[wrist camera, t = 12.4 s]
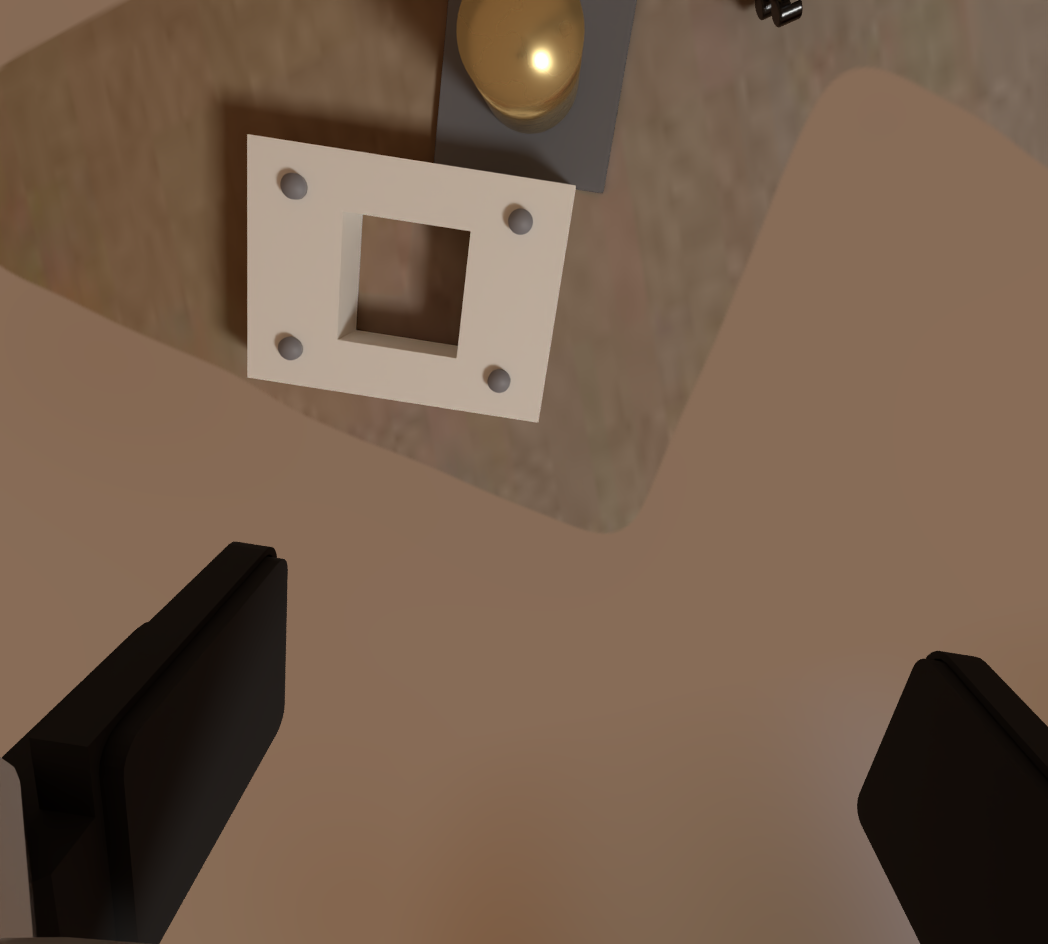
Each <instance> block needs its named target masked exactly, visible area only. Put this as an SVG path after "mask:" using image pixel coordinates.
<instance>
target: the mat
mask: <svg viewBox="0 0 1048 944" xmlns="http://www.w3.org/2000/svg"><path fill="white" fill-rule="evenodd" d="M461 1H462V0H448V10H447V21H446V33H445V44H444V55H443V66H442V77H441V89H440V100H439V111H438V122H437V134H436V145H435V156H434V163H435V164H442V165H448V166H455V167H461V168H467V169H474V170H480V171H487V172H493V173H499V174H506V175H512V176H519V177H525V178H531V179H538V180H544V181H551V182H557V183H563V184H570V185H576V189H578V190H585V191H591V192H598V193H603V191H604V185H605V180H606V174H607V168H608V162H609V157H610V151H611V145H612V139H613V134H614V128H615V122H616V116H617V111H618V105H619V99H620V93H621V88H622V82H623V76H624V70H625V65H626V59H627V53H628V47H629V42H630V36H631V30H632V24H633V19H634V13H635V7H636V1H637V0H580V3H581V6H582V10H583V16H584V29H585V32H584V43H583V51H582V60H581V68H580V76H579V84H578V90H577V95H576V98H575V101H574V103H573V105H572V107H571V109H570V111H569V112H568V114H567V115H566V116H565V117H564V119H563V120H562V121H560V122H559V123H558V124H557V125H556V126H554V127H552V128H551V129H549V130H546V131H544V132H540V133H535V134H526V133H520V132H517V131H514V130H512V129H510V128H508V127H506V126H505V125H504V124H502V123H501V122H500V121H499V120H498V119H497V118H496V117H495V115H494V114H493V113H492V111H491V109H490V108H489V106H488V104H487V103H486V101H485V100H484V98H483V96H482V95H481V93H480V92H479V90H478V88H477V87H476V85H475V84H474V82H473V80H472V79H471V77H470V75H469V74H468V72H467V71H466V69H465V66H464V64H463V62H462V59H461V56H460V53H459V49H458V44H457V34H456V31H457V18H458V12H459V8H460V4H461Z"/></svg>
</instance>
